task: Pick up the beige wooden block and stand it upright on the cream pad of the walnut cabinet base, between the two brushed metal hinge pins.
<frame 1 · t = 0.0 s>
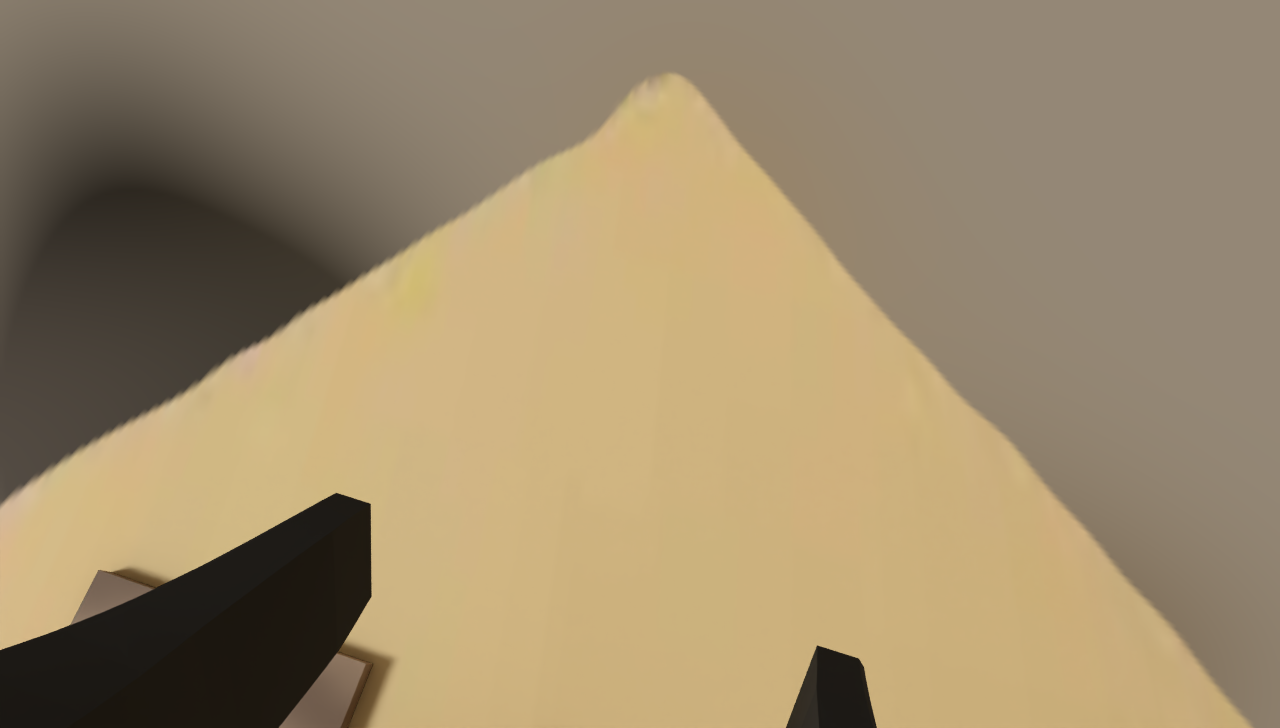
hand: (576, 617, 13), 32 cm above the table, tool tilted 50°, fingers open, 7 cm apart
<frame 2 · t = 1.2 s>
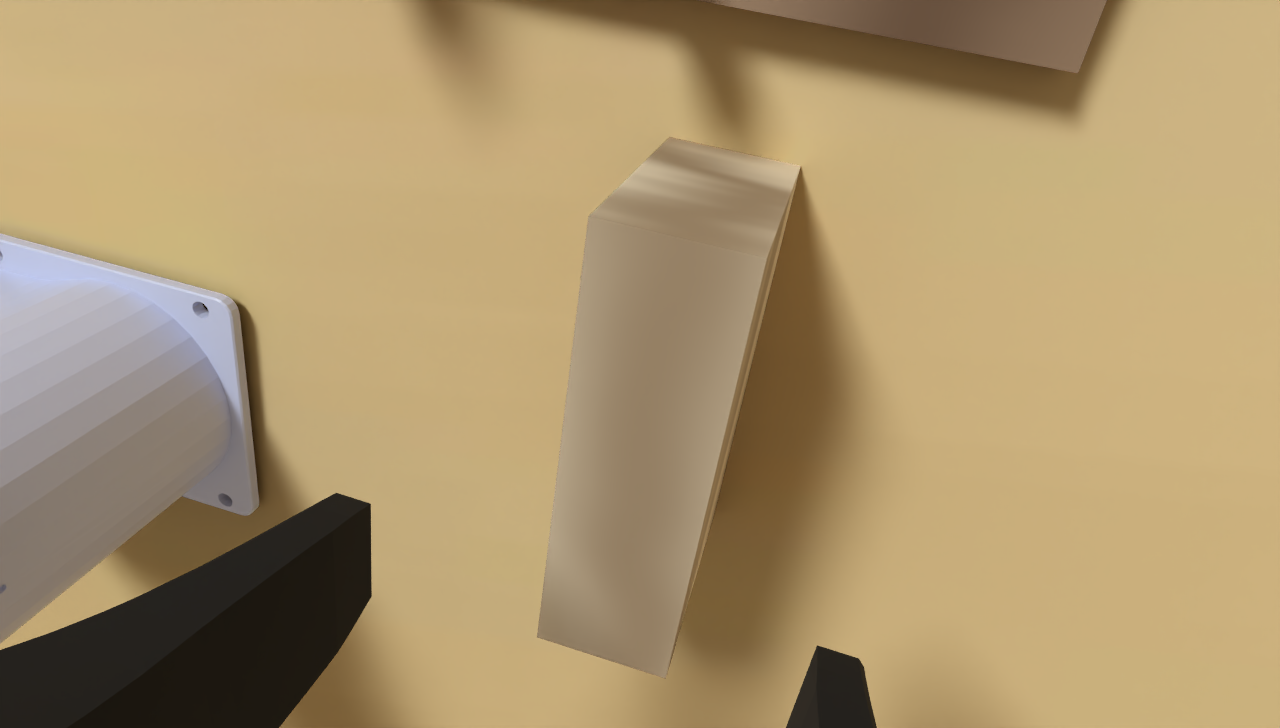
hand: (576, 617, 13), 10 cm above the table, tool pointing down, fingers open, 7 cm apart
beige wooden block: (695, 344, 21), on the table
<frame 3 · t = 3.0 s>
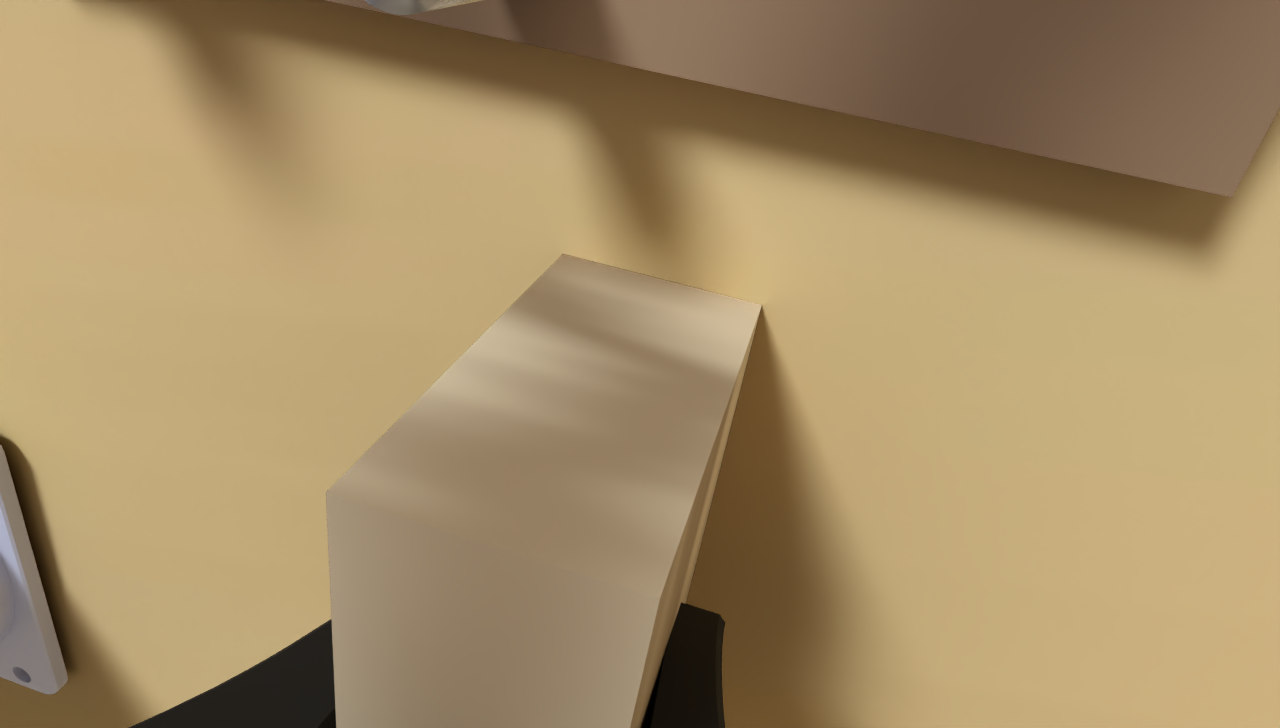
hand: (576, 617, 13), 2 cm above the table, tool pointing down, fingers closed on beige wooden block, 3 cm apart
beige wooden block: (612, 538, 15), on the table, touching gripper
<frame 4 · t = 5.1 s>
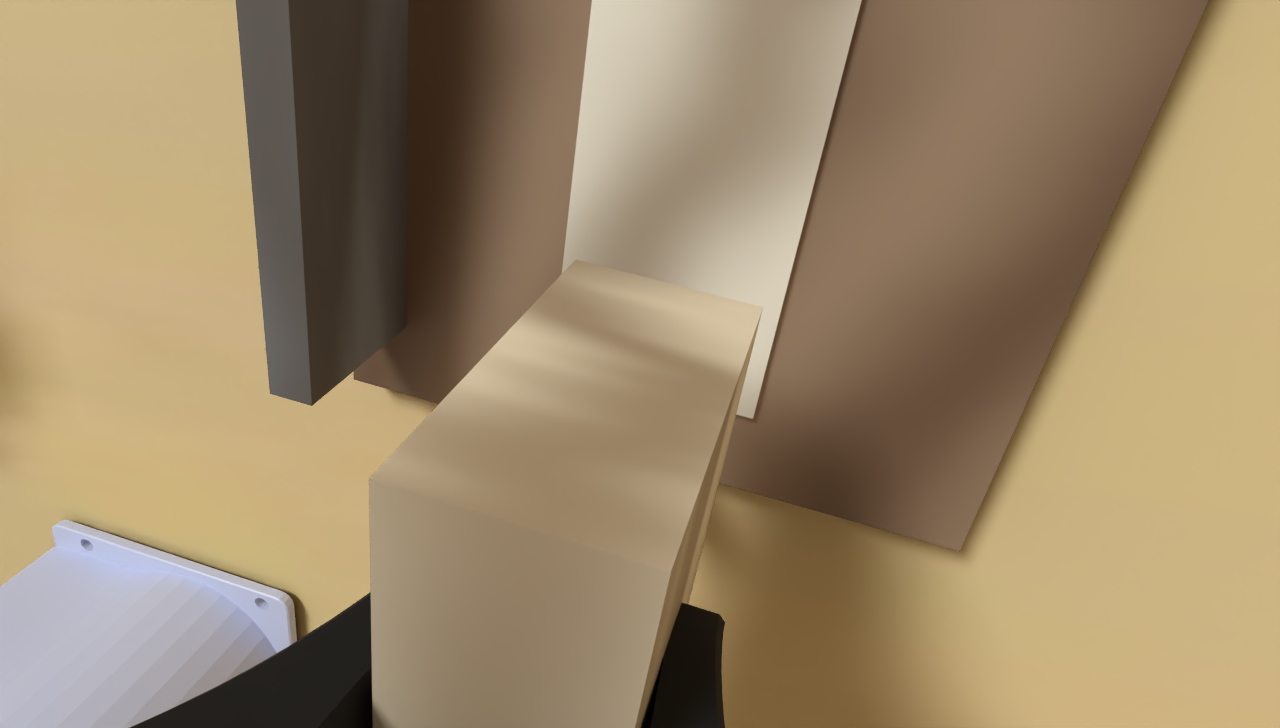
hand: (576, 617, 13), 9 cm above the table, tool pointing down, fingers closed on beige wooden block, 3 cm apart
beige wooden block: (622, 528, 15), point 6 cm above the table, touching gripper
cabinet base: (705, 138, 18), on the table
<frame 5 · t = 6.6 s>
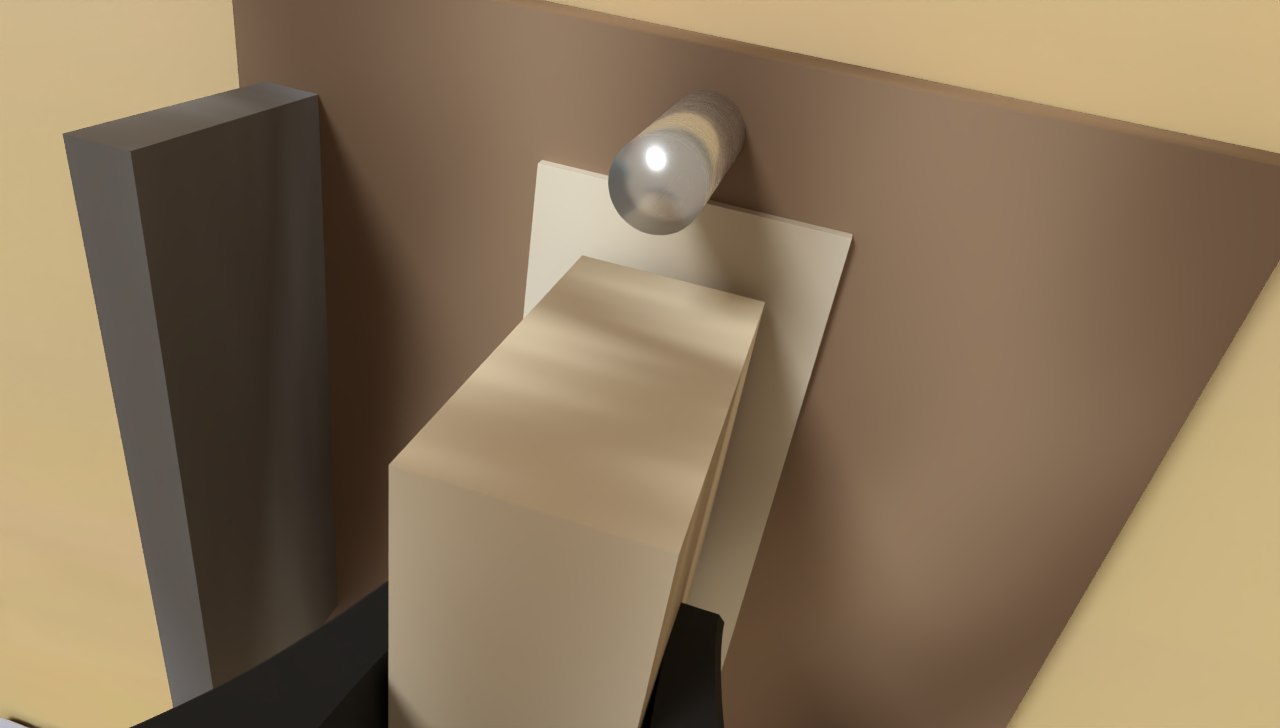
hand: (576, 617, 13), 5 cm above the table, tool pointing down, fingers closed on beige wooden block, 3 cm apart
beige wooden block: (626, 518, 16), point 1 cm above the table, touching gripper
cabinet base: (649, 458, 17), on the table
hinge pins: (613, 536, 15), point 2 cm above the table
when the fingers open (4 cm above the table, at t = 7.5 s): beige wooden block stays where it is, resting on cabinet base.
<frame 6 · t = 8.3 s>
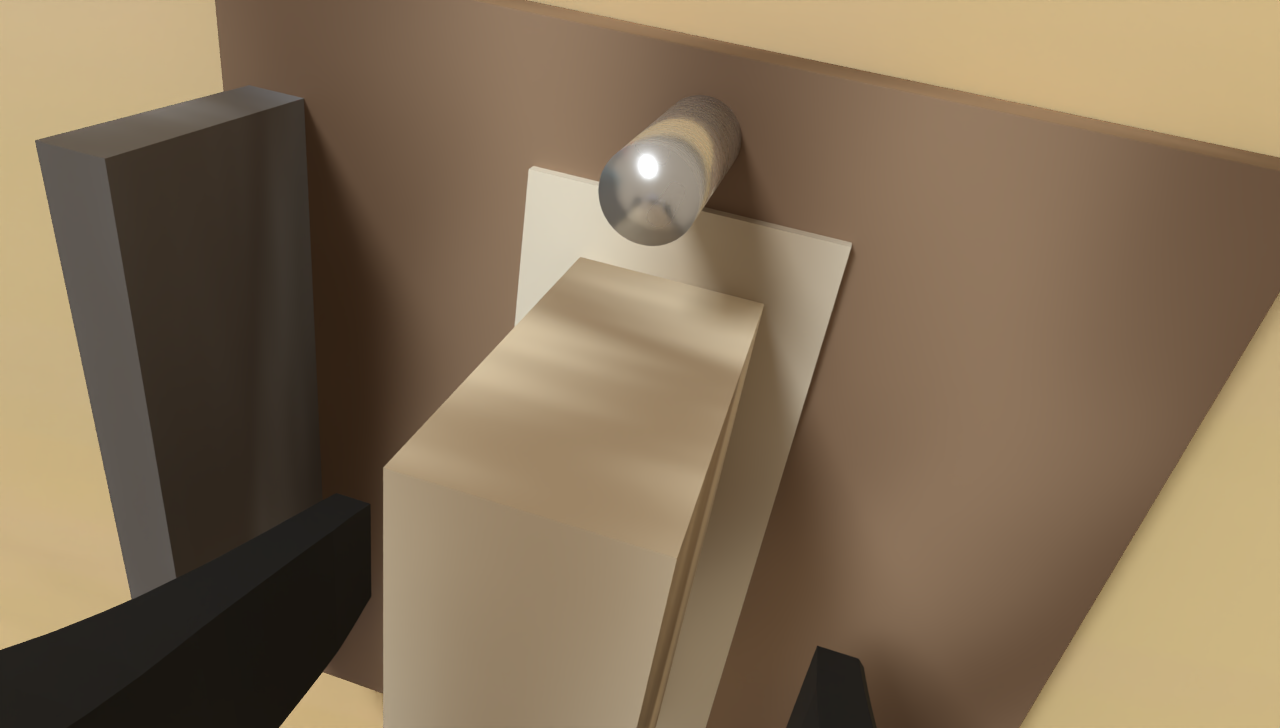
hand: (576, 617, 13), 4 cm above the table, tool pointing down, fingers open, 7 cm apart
beige wooden block: (624, 522, 16), point 1 cm above the table, touching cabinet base
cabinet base: (644, 469, 16), on the table
hinge pins: (607, 551, 14), point 2 cm above the table
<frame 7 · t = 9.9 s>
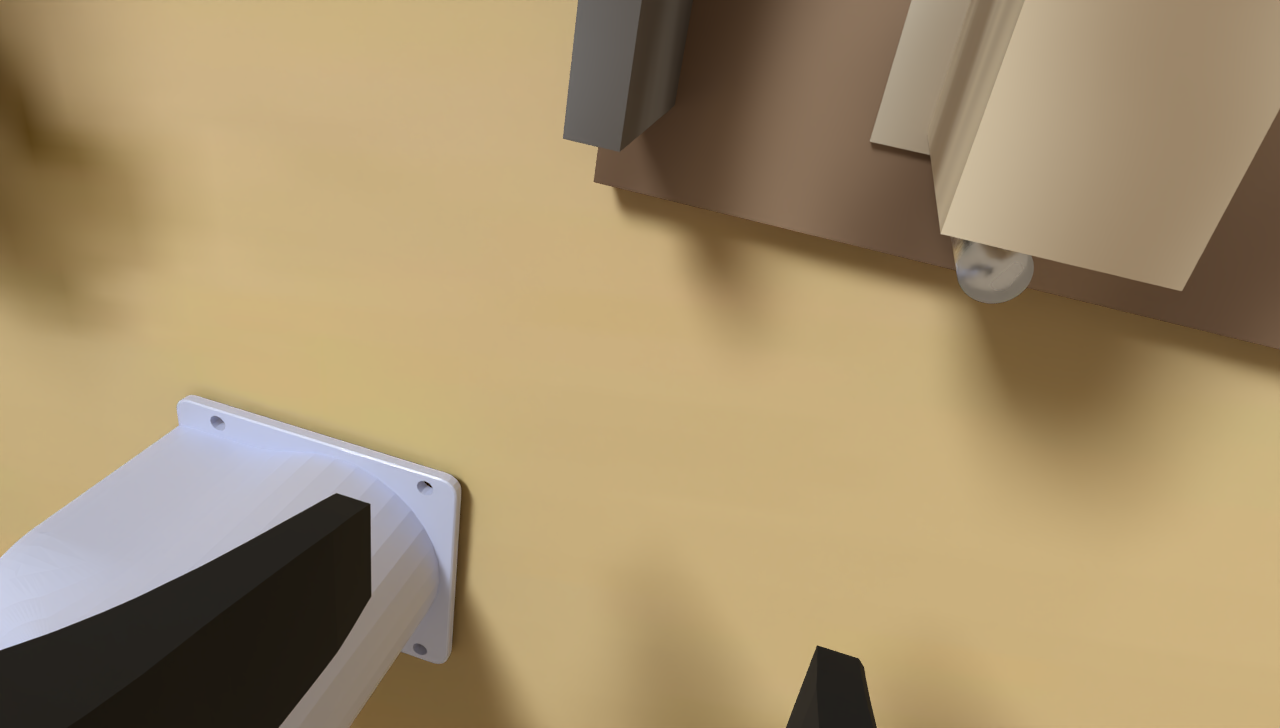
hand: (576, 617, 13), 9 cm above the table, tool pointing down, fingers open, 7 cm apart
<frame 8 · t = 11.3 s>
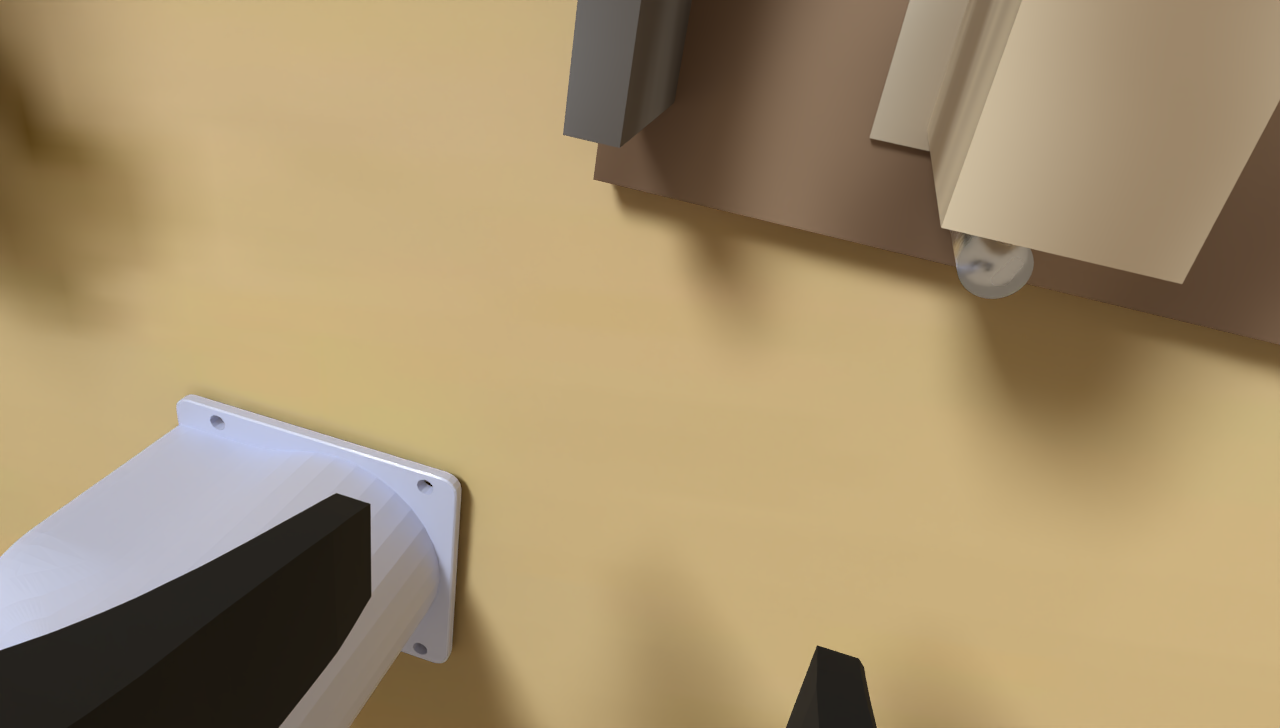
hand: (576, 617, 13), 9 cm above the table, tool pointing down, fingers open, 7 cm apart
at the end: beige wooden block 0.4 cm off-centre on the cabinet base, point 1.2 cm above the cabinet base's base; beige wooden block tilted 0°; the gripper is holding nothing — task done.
